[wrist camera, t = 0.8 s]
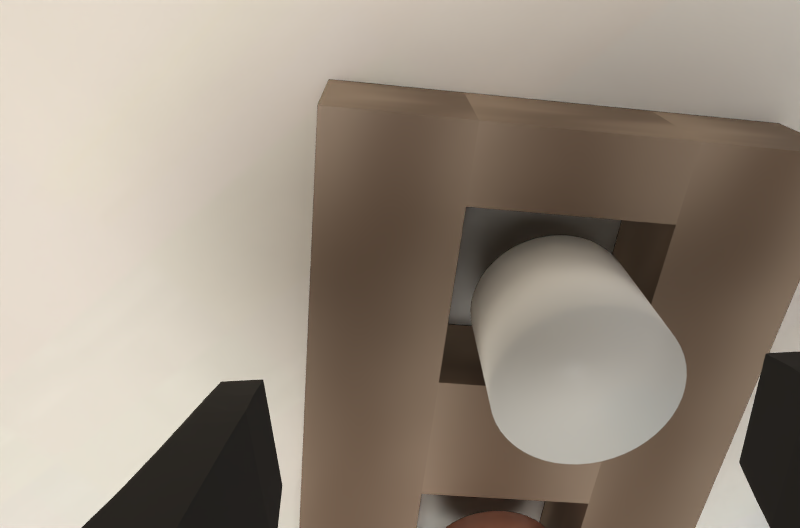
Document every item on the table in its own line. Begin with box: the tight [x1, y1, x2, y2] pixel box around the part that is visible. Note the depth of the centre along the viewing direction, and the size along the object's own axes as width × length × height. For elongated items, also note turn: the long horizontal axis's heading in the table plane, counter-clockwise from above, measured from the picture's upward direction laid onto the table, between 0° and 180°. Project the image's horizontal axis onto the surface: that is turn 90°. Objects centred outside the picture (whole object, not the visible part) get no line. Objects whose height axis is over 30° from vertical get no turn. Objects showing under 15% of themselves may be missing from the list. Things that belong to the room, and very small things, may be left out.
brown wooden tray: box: [299, 79, 800, 528], centre depth 19 cm, size 12×18×3 cm, turn 174°
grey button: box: [470, 235, 687, 464], centre depth 15 cm, size 4×4×3 cm
